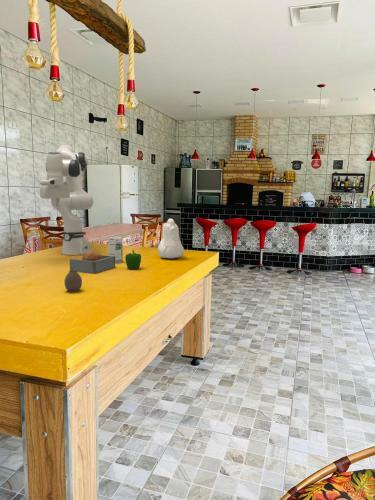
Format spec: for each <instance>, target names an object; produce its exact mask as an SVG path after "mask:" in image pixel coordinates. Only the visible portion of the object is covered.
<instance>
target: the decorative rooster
mask: <svg viewBox="0 0 375 500" xmlns="http://www.w3.org/2000/svg"><path fill="white" fill-rule="evenodd" d="M179 230H180V229H179V226H178V225H177V224H176V223H175V220H174V219H173V218H168V220H167V221H166V222H165V223H163V225H162V234H161V236H162V238H161V240H160V242H159V243H158V246H157V252H158V255H159V257H161V258H162V259H163V258H164V259H177V258H180V257H182V256H183V255H184V253H185V248H184V246H183V245H182V241H181V240H180V239H181V238H180V231H179Z"/></svg>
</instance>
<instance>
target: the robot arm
mask: <svg viewBox="0 0 375 500" xmlns="http://www.w3.org/2000/svg"><path fill="white" fill-rule="evenodd" d="M88 162H89V160H88V156H87V155H86V153H85V152H82V151H81V152H80V151H78V152H75V151H74V148H73V146H72V145H69V144H62V145H60V146H59V147H58V148H57V149H56V150H55V151H49V152H48V153H47V154H46V162H45V163H46V164H45V171H46V172H47V173H46V178H44V179H42V180H40V181H39V184H40V186H39V196H40V198H41V199H45V200H46V199H48V200H49V199H50V204H51V206H52V207H53V209H55V210H56V211H58V213H59V215H60V216H61V218H62V222H63V224H62V225H63V232H62V237H63V240H62V246H61V247H62V250H61V254H62V255H69V256H70V255H71V256H75V255H76V256H78V255H79V256H81V255H82V256H83V255H84V253H85V252H86V251H88V250H95V249H93V248H92V245H91V242H90V241H89V240H88V239H86V238H85V235H87V232H86V231H83V229H82V228H83V227H82V226H83V224H82V223H83V221H82V218H80V216H78V215H75V214H74V213H73V212H72V211H73V210H75V211H84V210H89V209H91V208H92V207H93V205H94V198H93V196H92V194H90V193H88V192H87V191H85V190H84V189H83V176H82V173H81V172H84V171H85V169H86V168H87V167H88ZM64 177H65V181H64Z"/></svg>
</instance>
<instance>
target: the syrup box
mask: <svg viewBox="0 0 375 500" xmlns="http://www.w3.org/2000/svg"><path fill="white" fill-rule="evenodd" d="M107 239H108V243H107V244H108V246H107V247H108V256H115V264H119V263H122V262H124V261H123V260H124V259H123V257H124V256H123V253H124V252H123V237H121V236H111V237H108V238H107Z"/></svg>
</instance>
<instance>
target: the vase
mask: <svg viewBox="0 0 375 500" xmlns="http://www.w3.org/2000/svg"><path fill="white" fill-rule="evenodd" d="M82 285H83V280H82V276H81V275H80V274H79V272H77V271H76V270H75V269H71V270H70V269H69V271H68V273H67V274H66V275H65V278H64V287H65V289H66V290H67V291H68V292H70V293H75V292H79V291H80V290H81V288H82Z"/></svg>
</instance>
